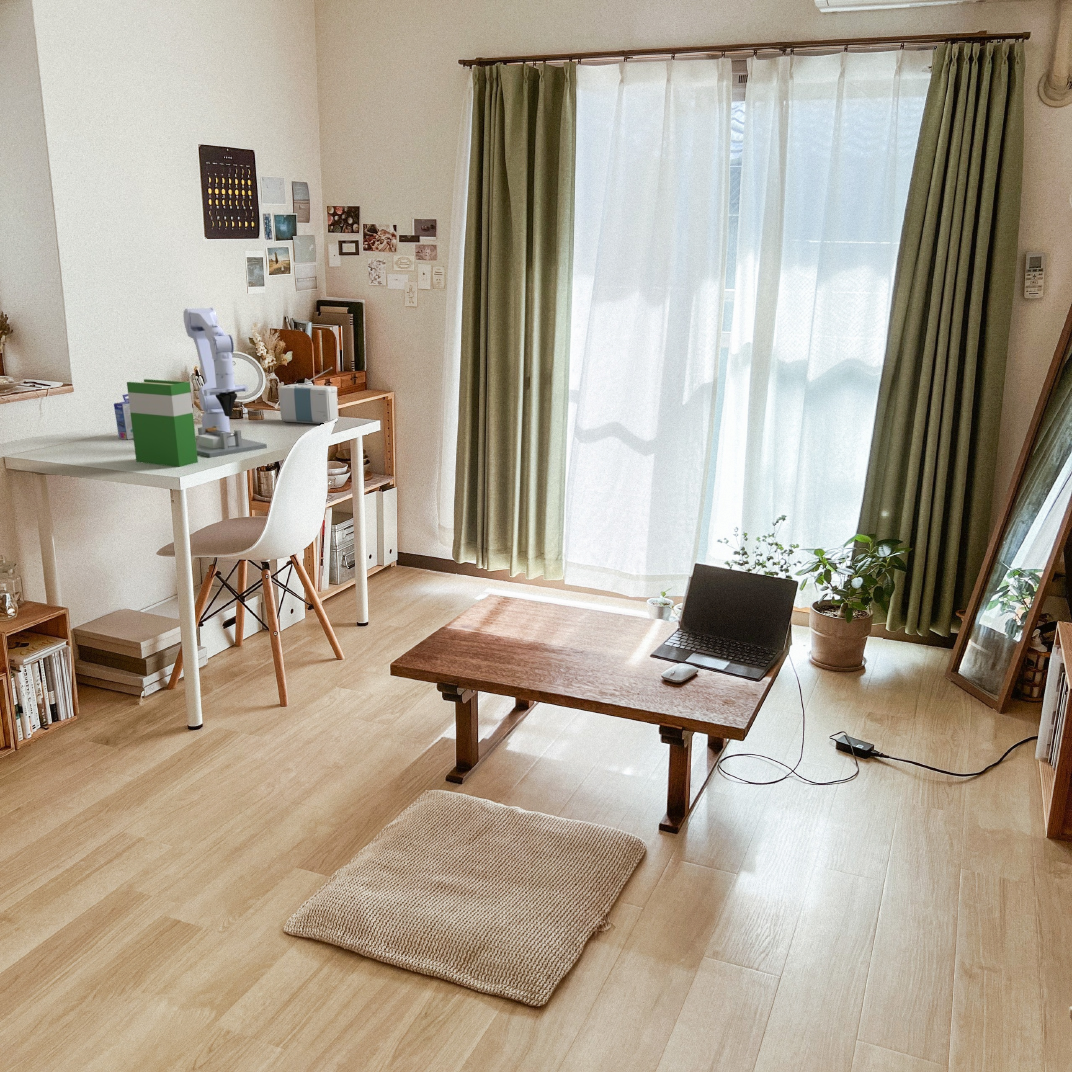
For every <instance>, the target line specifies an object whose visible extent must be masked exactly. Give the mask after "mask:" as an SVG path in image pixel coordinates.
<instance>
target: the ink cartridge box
mask: <svg viewBox="0 0 1072 1072" xmlns="http://www.w3.org/2000/svg"><path fill="white" fill-rule="evenodd" d="M121 397H122V399H123V401H121V402H114V403H113V407H114V415H115V420H116V427H117V433H118V439H119V438H121V440H125V439H128V440H132V439H133V440H134V438H133V430H132V422H131V414H130V405H129V397H128V393H127V394H122V396H121ZM126 397H128V398H126Z"/></svg>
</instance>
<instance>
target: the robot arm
mask: <svg viewBox="0 0 1072 1072" xmlns="http://www.w3.org/2000/svg"><path fill="white" fill-rule="evenodd" d="M183 322H184V323H183V324H184V328H185V332H186V334H187V336H188V337H189V338H191V339H192V340H193V343H194V346H195V349H196V352H197V357H198V361H199V366H200V368H201V373H202V376H203V377H202V378H203V380H204V384H203V385H202V386H201V387H200V388H199V391H198V399H199V400H198V401H199V406H200V409H201V410H202V411H203V412H204V413H202V416H201V427H204V428H211V427H213V425H219V426H220V430H221V431H227V432H231V426H230V417H232V415H233V409H234V405H235V402H236V401H237V398H238V393H243V392H245V393H246V392H248V390H249V387H248V385H247V384H238V385H236V384H235V373H234V363H233V362H234V361H233V353H234V349H235V346H234V339H233V336H232V335H231V334H226V333H225V331H224V330H223V328H222V327H221V326H220V325H218V316H217V312H216V310H215V308H214V307H207V308H204V307H203V308H185V309H184V310H183ZM206 434H211V433H206Z"/></svg>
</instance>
